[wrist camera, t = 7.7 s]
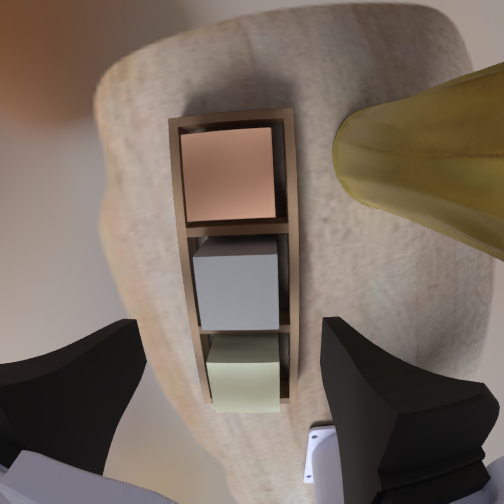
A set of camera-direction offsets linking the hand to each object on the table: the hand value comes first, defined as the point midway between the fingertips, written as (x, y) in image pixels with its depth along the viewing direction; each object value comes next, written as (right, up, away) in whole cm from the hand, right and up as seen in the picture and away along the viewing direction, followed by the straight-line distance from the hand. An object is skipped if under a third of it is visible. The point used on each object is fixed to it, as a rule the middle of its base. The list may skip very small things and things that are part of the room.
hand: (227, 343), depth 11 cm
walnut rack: (0, +2, +8) cm, 8 cm away
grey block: (0, +2, +8) cm, 8 cm away
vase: (+9, +9, +5) cm, 14 cm away
